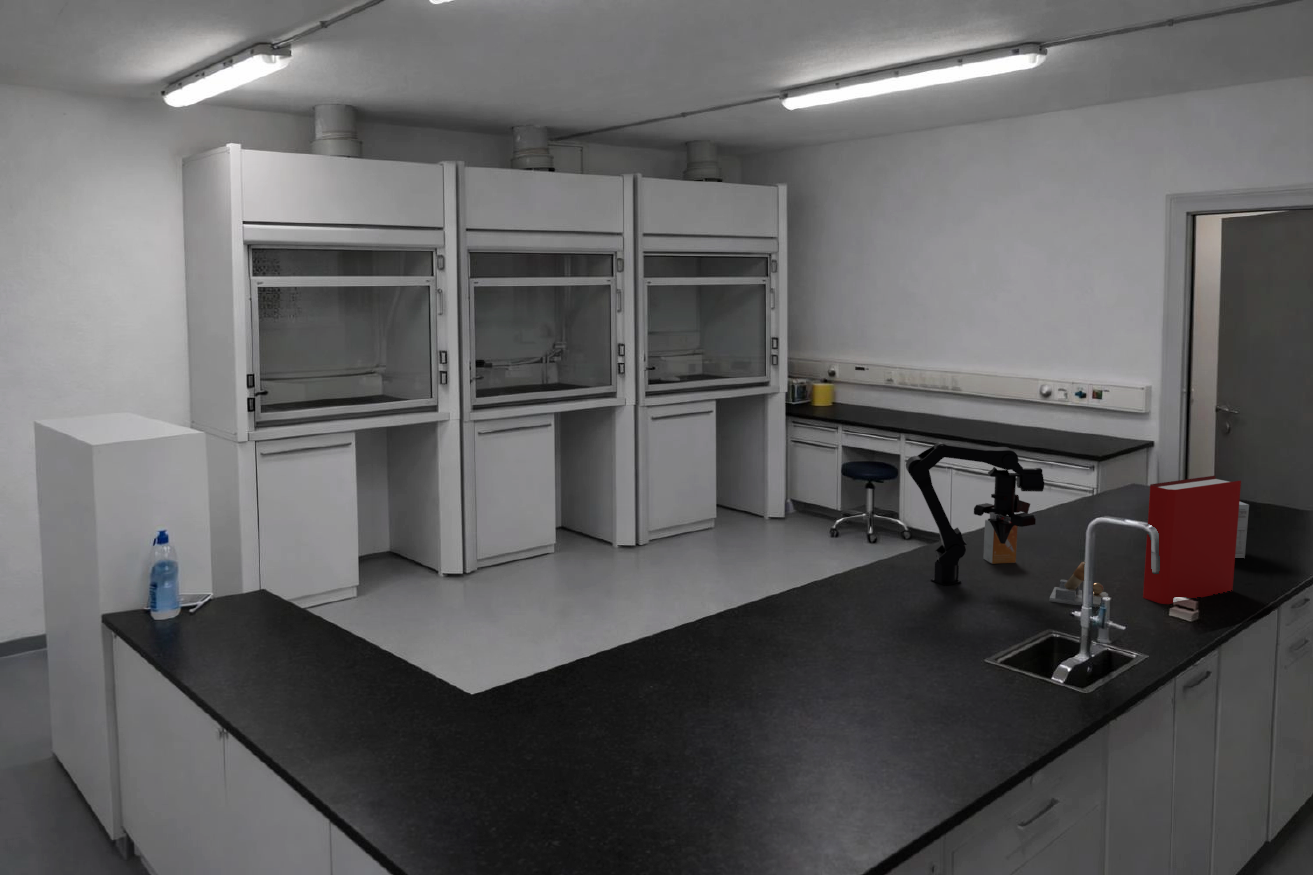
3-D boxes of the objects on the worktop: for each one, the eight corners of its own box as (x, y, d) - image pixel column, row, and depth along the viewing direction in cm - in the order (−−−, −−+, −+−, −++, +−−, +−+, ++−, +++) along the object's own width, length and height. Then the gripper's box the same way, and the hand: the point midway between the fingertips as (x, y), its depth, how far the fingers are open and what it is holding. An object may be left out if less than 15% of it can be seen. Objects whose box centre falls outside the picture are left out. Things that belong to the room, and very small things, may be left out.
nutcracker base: (1049, 601, 278) (1050, 582, 278) (1054, 590, 288) (1055, 572, 287) (1104, 608, 272) (1105, 589, 271) (1107, 597, 281) (1109, 578, 280)
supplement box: (1246, 559, 316) (1250, 504, 313) (1203, 559, 317) (1207, 505, 314) (1223, 547, 329) (1227, 495, 327) (1182, 548, 330) (1186, 495, 327)
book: (1206, 583, 292) (1215, 475, 287) (1232, 590, 285) (1241, 480, 280) (1139, 596, 281) (1146, 484, 276) (1164, 604, 274) (1172, 490, 269)
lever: (1059, 591, 279) (1080, 564, 275) (1062, 585, 285) (1083, 558, 281) (1069, 599, 278) (1091, 572, 274) (1072, 592, 283) (1094, 566, 280)
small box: (992, 564, 314) (993, 523, 312) (982, 558, 321) (984, 519, 319) (1016, 563, 316) (1018, 522, 313) (1006, 557, 322) (1008, 517, 320)
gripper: (1050, 493, 287) (1048, 546, 289) (1000, 482, 303) (998, 532, 305) (1022, 498, 281) (1020, 552, 284) (973, 486, 298) (971, 537, 300)
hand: (1002, 543), depth 294 cm, fingers closed
